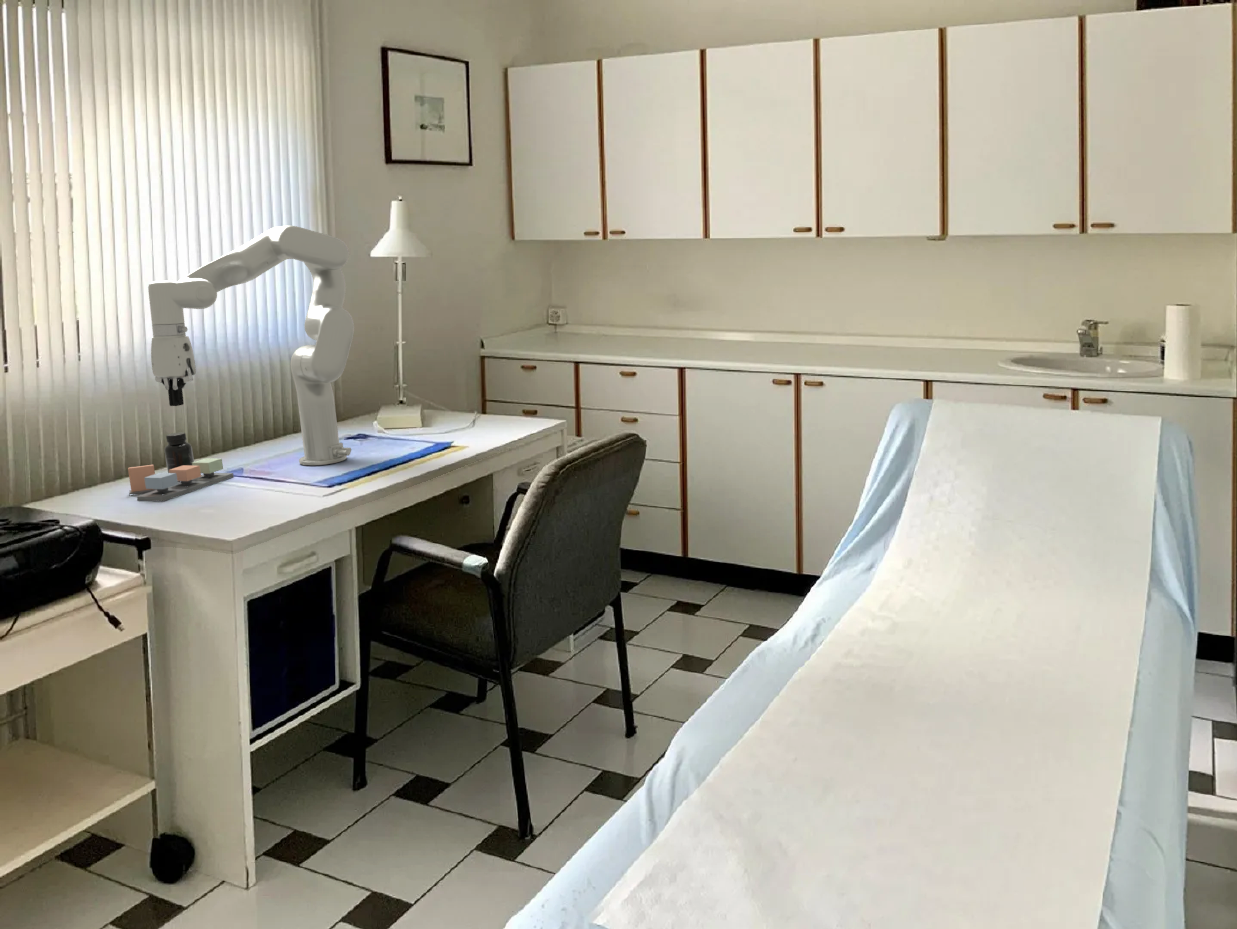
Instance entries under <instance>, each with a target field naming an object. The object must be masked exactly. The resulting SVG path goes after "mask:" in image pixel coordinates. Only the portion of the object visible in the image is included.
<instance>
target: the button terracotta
mask: <svg viewBox="0 0 1237 929" xmlns="http://www.w3.org/2000/svg"><path fill="white" fill-rule="evenodd" d="M169 473H176V474H177V481H178V482H181V484H186V483H191V482H192V479H195V478H198V477H201V475H202V473H201V472H200V466H192V465H183V466H179V467H176V468H173V469H170V470H169Z"/></svg>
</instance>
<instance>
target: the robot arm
mask: <svg viewBox="0 0 1237 929" xmlns="http://www.w3.org/2000/svg"><path fill="white" fill-rule="evenodd" d="M349 258H350V251H349V247H348V246H347V244H346V242H345V241H344V240H342V239H341V238H339V237H336V236H333V235H329V234H326V233H322V232H319V231H314V230H311V229H307V228H305V227H304V228H303V227H300V226H296V225H281V226H275V227H271V228H270V229H268V230H266V231H264V232H263V233H261V234H260V235H258V236H256V237H254V238H252V239H251V240H250V241H247V242H246V243H244V244H242V245H240V246H239V247H237V248H236V249H234V250H232V251H230V252H228V253H226V254H223V255H222V256H220V257H218V258H216V259H215V260H212V261H210V262H208V263H206V264H205V265H202V266H201V267H198V268H197V269H195V270H194V271H192V272H190V273H188V274H187V275H185V276H183V277H181V278H180V279H178V281H177V280H154V281H151V282H149V284H148V287H147V288H148V299H149V308H150V319H151V328H152V336H153V337H151V344H150V360H151V369H152V373H153V376H154V380H155V382H158V383H162V385H163V386H164V387H165V390H166V391H167V392H168V393H167V394H168V401H169V403H168V404H169V406H170V407H179V406H183V405H184V395H183V394H184V393H183V389H184V388H185V386H186V384H187V383H190V382H193V381H194V378H193V376H194V375H195V374H196V372H197V368H196V361H195V355H194V350H193V346H192V342H191V340H190V337H189V336H187V334H186V333H187V332H188V330H189V329H188V326H186V324H185V315H184V314H185V313H184V309H192V310H193V309H194V310H205V309H209V308H210V307H212V306H213V305H214V304H215V303H216V300H217V298H218V293H219V292H221V291H222V290H226V289H228V288H230V287H233V286H238V285H242V284H243V285H244V284H245V283H248V282H251V281H253V280H254V279H256V278H258V277H259V276H261V275H263V274H264V273H266V272H267V271H269V270H271V269H273V268H274V267H276V266H278V265H280V264H281V263H282V262H285V261H286V260H295V261H300V262H303V263H304V265H305V266H306V267H307V269H308V271H309V272H310V274H311V277H312V280H313V286H312V292H311V297H310V300H309V306H308V308H307V313H306V316H305V320H304V332H305V334H306V335H307V336H308V337H309V338H310V339H311V340H315V344H306V345H302V346H300V347H298V348H297V349H296V350H294V352H293V353H292V355H291V359H290V371H291V375H292V376H291V377H292V380H293V382H294V386H295V390H296V397H297V404H298V413H299V421H300V422H299V423H300V429H301V430H300V431H301V439H302V447H303V448H302V449H303V453H304V454H303V456H302V457H300V458H299V459H298V462H299V463H298V464H300V465H302V466H323V465H329V464H330V465H331V464H336V463H340V462H344V461H346V460H347V459H348V458H347V456H350V455H351V453H352V448H351V447H344V443H343V442H340V438H339V429H338V422H337V420H338V419H337V413H336V412H337V411H336V405H335V404H336V402H335V394H334V390H333V387H332V383H334V382H336V381H337V380H338V379H339V378H340V377H342V375H343V374H344V371H345V369H346V365H347V362H348V358H349V354H350V350H351V346H352V342H353V340H354V339H353V338H354V333H355V324H354V323H355V322H354V319H353V316H352V315H351V313H350V312H349V311H348V310H347V309H345V308H344V307H343V306H344V303H345V297H346V291H347V284H346V278H345V274H344V271H343V270H342V268H343V267H345V265H346V264H347V263H348V261H349Z"/></svg>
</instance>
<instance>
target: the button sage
mask: <svg viewBox="0 0 1237 929" xmlns="http://www.w3.org/2000/svg"><path fill="white" fill-rule="evenodd" d="M192 466H200V472H201V474H202V475H204V476H211V475H214V473H217V472H219V471H222V470H224V467H223V466H224V465H223V458H214V457H213V458H212V457H211V458H209V457H207V458H205V457H204V458H202V459H200V460H196V461H195V460H194V462H192Z"/></svg>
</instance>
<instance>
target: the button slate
mask: <svg viewBox="0 0 1237 929" xmlns="http://www.w3.org/2000/svg"><path fill="white" fill-rule="evenodd" d="M178 483H179V481H177V474H176V473H168V472H157V473H155V474H154V475H151V476H148V477H145V485H146V489H157V492H162V491H167V490H168V487H171V486H174V485H177V484H178Z"/></svg>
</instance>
